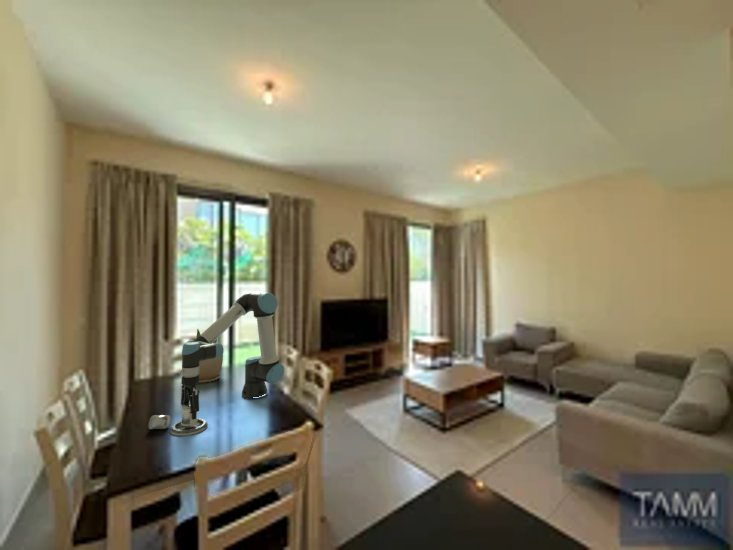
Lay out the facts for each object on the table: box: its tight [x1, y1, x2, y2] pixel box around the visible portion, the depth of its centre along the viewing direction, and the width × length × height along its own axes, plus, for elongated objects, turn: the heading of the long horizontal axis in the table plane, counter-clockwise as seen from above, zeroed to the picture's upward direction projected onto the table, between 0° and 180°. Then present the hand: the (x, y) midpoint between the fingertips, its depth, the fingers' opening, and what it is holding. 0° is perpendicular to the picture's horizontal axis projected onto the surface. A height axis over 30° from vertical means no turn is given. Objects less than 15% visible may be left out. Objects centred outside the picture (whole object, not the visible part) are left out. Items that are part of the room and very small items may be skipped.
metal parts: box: [148, 414, 209, 437], centre depth 165 cm, size 25×16×6 cm, turn 95°
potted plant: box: [195, 328, 224, 384], centre depth 240 cm, size 21×22×40 cm
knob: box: [181, 402, 198, 427], centre depth 166 cm, size 7×7×9 cm
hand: (189, 423), depth 166 cm, fingers closed on knob, 7 cm apart
